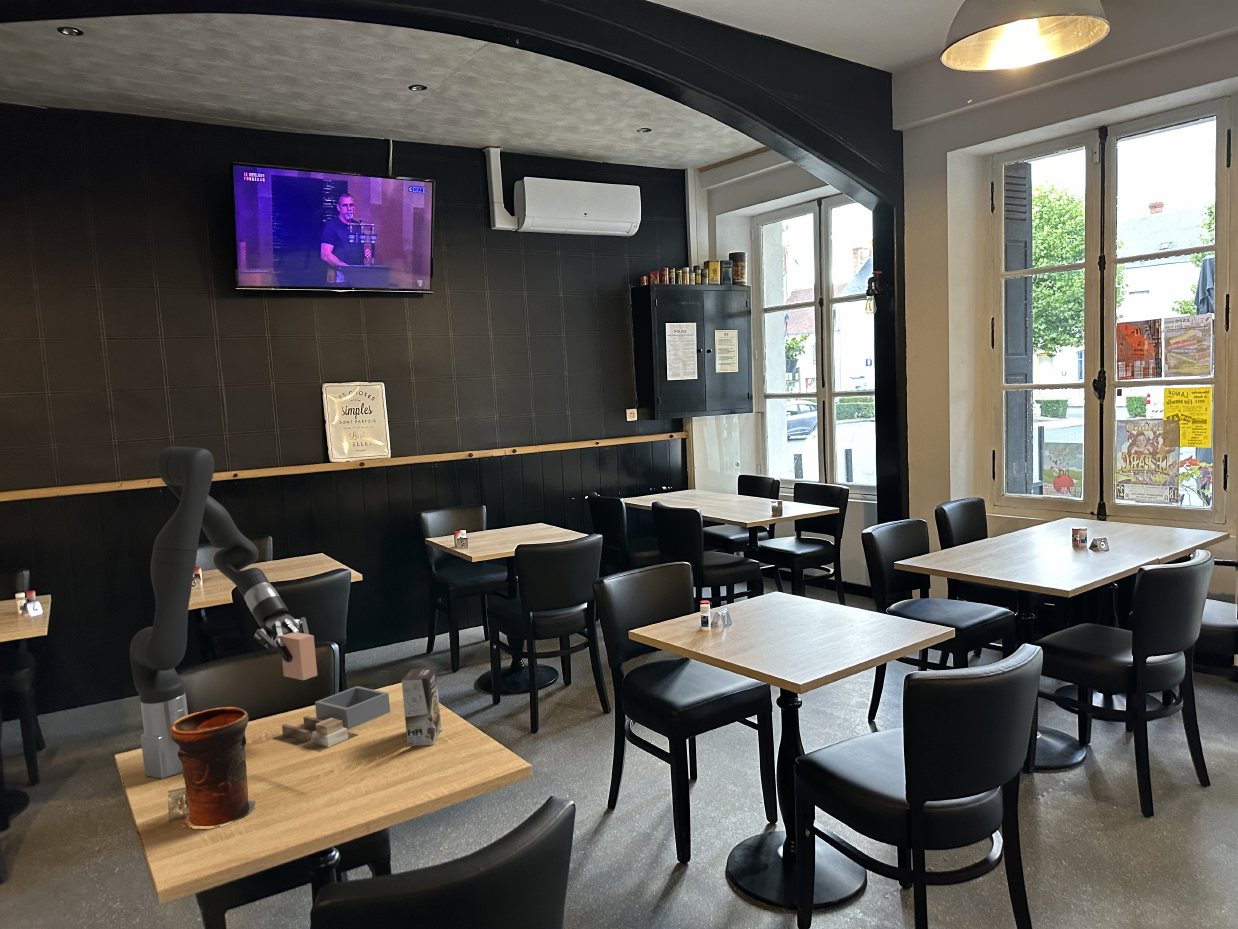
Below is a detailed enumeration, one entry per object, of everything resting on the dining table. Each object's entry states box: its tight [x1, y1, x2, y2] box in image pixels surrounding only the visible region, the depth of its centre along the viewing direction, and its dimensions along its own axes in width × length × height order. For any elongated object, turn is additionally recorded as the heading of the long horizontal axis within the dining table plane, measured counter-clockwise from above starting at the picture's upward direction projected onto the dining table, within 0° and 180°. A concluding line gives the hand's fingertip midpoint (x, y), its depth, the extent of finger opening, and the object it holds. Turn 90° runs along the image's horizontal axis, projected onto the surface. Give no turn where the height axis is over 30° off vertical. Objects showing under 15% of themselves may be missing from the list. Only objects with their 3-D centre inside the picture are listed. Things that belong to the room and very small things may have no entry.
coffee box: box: [401, 666, 443, 747], centre depth 207 cm, size 9×6×16 cm
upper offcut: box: [316, 718, 343, 735], centre depth 208 cm, size 4×4×2 cm
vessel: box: [170, 706, 256, 829], centre depth 176 cm, size 14×14×20 cm
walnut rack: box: [273, 715, 359, 753], centre depth 212 cm, size 19×11×4 cm, turn 54°
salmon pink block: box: [281, 632, 318, 681], centre depth 213 cm, size 8×4×10 cm, turn 54°
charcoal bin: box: [314, 685, 391, 731], centre depth 224 cm, size 13×13×6 cm
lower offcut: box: [312, 727, 349, 748], centre depth 208 cm, size 6×6×2 cm
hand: (298, 657), depth 213 cm, fingers closed on salmon pink block, 4 cm apart
